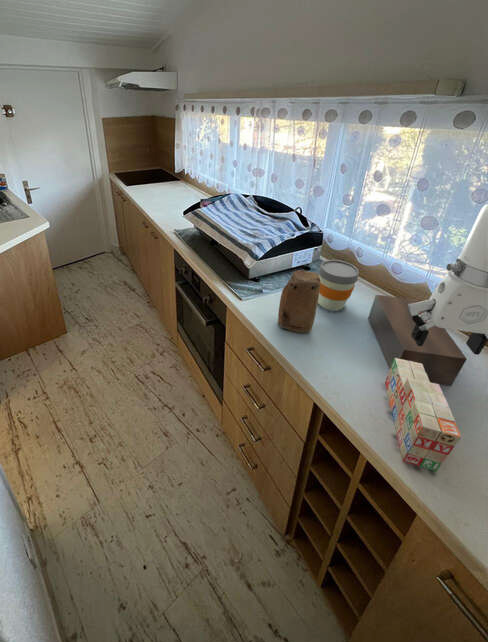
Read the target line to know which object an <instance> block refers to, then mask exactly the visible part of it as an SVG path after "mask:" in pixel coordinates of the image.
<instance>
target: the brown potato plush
mask: <svg viewBox="0 0 488 642" xmlns="http://www.w3.org/2000/svg"><path fill="white" fill-rule="evenodd" d="M319 292H320V276H319V273H318V272H315V271H308V270H301V269H300V270H294V271H293V272H292V274H291V276H290V279H289V280H288V282H287V283H286V285H284V287H283V289H282V291H281V294H280V299H279V305H278V313H277V320H278V321H277V323H278V326H279V327H280V328H283V329H285V330H288V331H291V332H296V333H303V334H304V333H309V332H311V331H312V328H313V326H314V323H315V320H316V319H315V318H316V313H317V308H318V305H319V303H318V299H319Z"/></svg>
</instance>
